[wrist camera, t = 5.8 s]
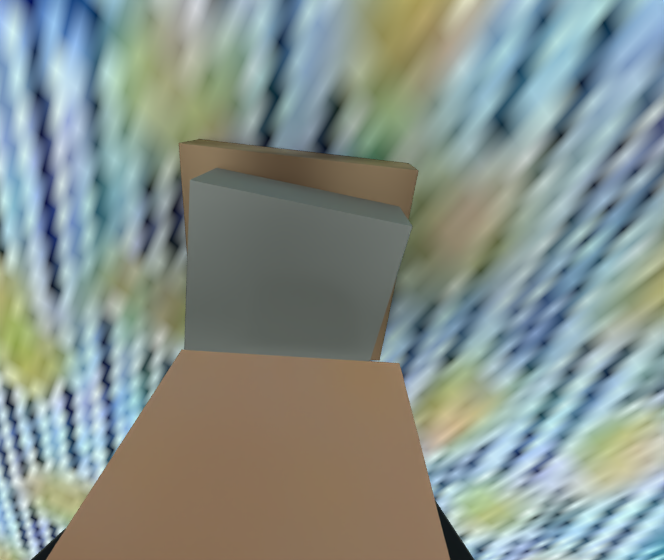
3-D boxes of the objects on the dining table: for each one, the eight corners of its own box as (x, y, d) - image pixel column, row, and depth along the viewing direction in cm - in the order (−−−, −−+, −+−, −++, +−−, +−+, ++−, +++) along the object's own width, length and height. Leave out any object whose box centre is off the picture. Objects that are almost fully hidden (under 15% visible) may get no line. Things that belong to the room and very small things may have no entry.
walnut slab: (406, 161, 18) (418, 170, 15) (374, 329, 22) (379, 360, 19) (203, 138, 17) (178, 143, 15) (211, 313, 22) (193, 342, 19)
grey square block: (399, 206, 16) (412, 226, 13) (357, 351, 19) (359, 391, 16) (216, 167, 15) (190, 180, 12) (206, 324, 18) (183, 361, 16)
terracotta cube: (399, 362, 8) (479, 674, 4) (373, 500, 10) (403, 803, 6) (182, 349, 8) (-14, 652, 4) (201, 491, 10) (94, 792, 6)
